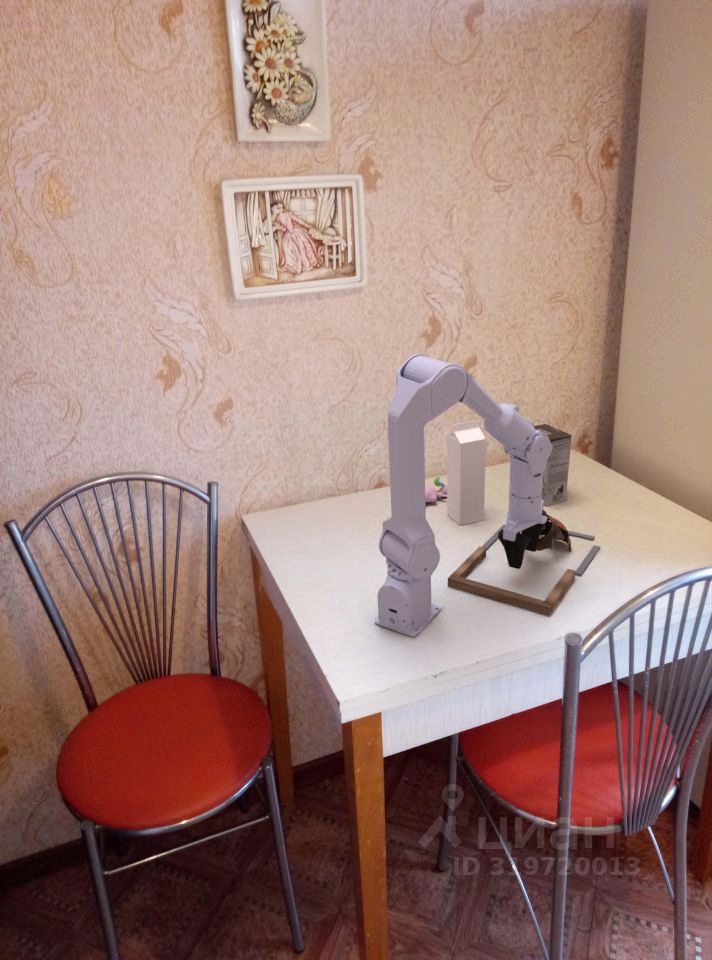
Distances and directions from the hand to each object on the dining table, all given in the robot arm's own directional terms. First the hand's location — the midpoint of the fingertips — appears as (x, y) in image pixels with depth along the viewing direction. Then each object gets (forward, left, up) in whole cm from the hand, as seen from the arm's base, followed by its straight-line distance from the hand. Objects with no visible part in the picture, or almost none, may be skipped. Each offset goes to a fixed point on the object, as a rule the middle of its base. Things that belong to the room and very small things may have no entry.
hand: (522, 558), depth 127 cm
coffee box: (+33, +8, -3) cm, 34 cm away
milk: (+15, +19, -3) cm, 24 cm away
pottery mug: (+11, 0, -3) cm, 11 cm away
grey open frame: (+11, 0, -3) cm, 11 cm away
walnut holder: (-5, 0, -3) cm, 6 cm away
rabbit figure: (+19, +30, -3) cm, 36 cm away
